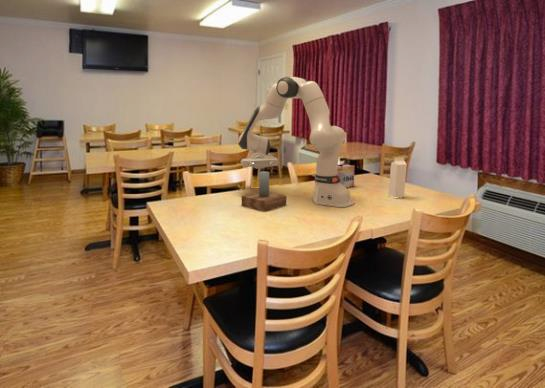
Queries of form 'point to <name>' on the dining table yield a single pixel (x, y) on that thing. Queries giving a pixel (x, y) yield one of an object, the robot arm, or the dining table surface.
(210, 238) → the dining table surface
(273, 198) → the walnut base
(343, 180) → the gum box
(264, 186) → the grey rectangular block
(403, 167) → the milk
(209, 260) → the dining table surface
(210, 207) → the dining table surface
